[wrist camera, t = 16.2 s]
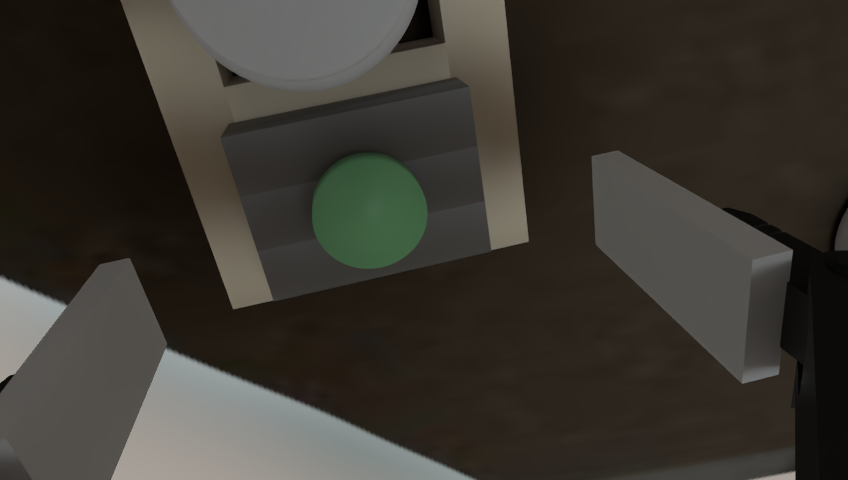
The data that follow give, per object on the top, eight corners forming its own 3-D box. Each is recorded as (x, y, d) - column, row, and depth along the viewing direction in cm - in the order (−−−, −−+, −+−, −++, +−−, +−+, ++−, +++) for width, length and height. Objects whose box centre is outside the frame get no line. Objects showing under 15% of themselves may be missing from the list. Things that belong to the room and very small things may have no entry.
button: (301, 150, 20) (298, 175, 17) (404, 128, 20) (417, 149, 18) (326, 244, 21) (327, 279, 19) (422, 222, 22) (435, 254, 19)
